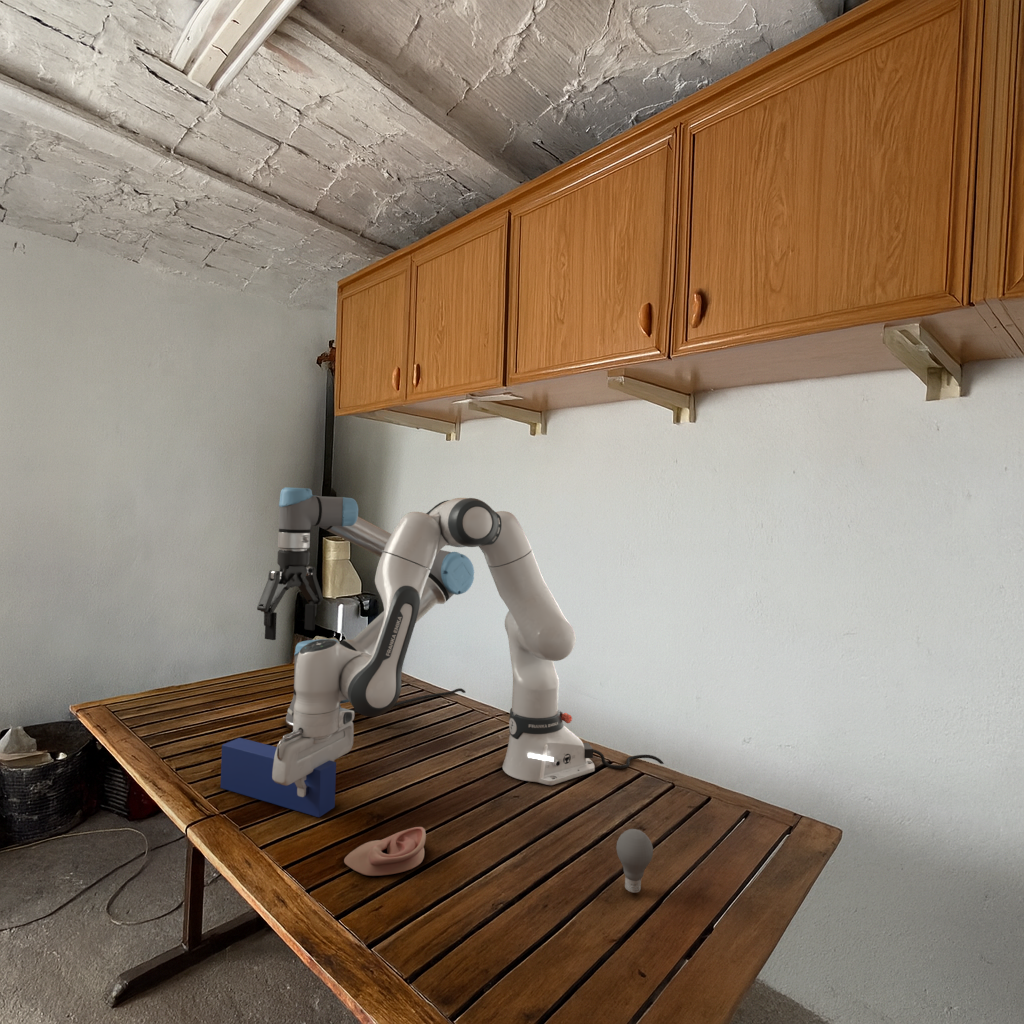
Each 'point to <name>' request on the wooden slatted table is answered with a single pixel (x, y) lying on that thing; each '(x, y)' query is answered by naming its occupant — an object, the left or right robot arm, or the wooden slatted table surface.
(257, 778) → the bar
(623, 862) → the light bulb
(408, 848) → the anatomical model
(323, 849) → the wooden slatted table surface
